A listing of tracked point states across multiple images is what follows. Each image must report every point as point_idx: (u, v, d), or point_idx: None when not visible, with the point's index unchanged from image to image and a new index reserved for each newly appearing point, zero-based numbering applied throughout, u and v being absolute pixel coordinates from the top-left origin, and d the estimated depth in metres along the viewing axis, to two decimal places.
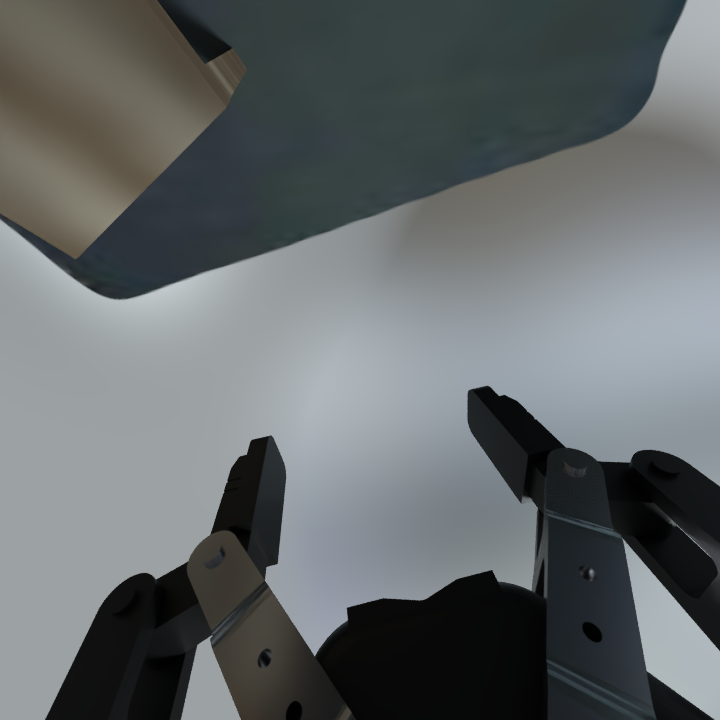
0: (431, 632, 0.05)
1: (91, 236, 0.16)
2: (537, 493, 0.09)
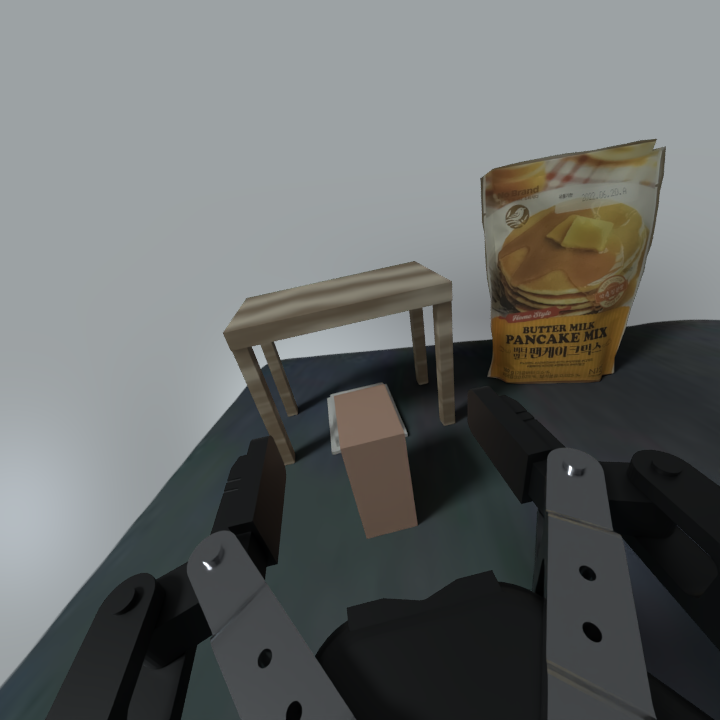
0: (431, 632, 0.05)
1: (245, 302, 0.37)
2: (537, 493, 0.09)
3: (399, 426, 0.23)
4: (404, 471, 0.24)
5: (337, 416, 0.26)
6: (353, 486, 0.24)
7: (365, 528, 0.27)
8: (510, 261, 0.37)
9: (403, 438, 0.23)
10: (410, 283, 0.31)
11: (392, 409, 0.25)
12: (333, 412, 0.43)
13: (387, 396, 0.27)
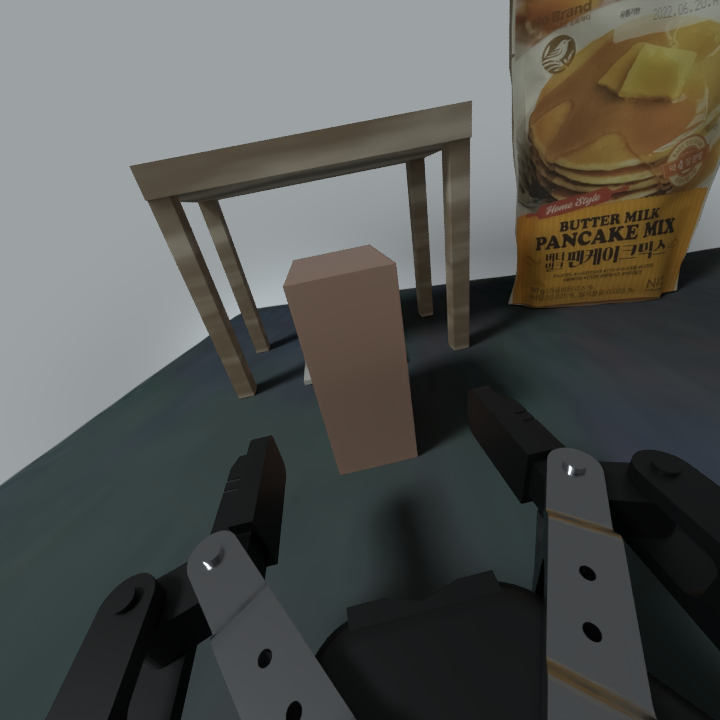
0: (431, 632, 0.05)
1: None
2: (537, 493, 0.09)
3: (388, 260, 0.14)
4: (396, 348, 0.15)
5: (291, 269, 0.16)
6: (312, 372, 0.15)
7: (336, 456, 0.18)
8: (547, 124, 0.27)
9: (394, 275, 0.13)
10: None
11: (378, 254, 0.15)
12: None
13: (372, 249, 0.17)
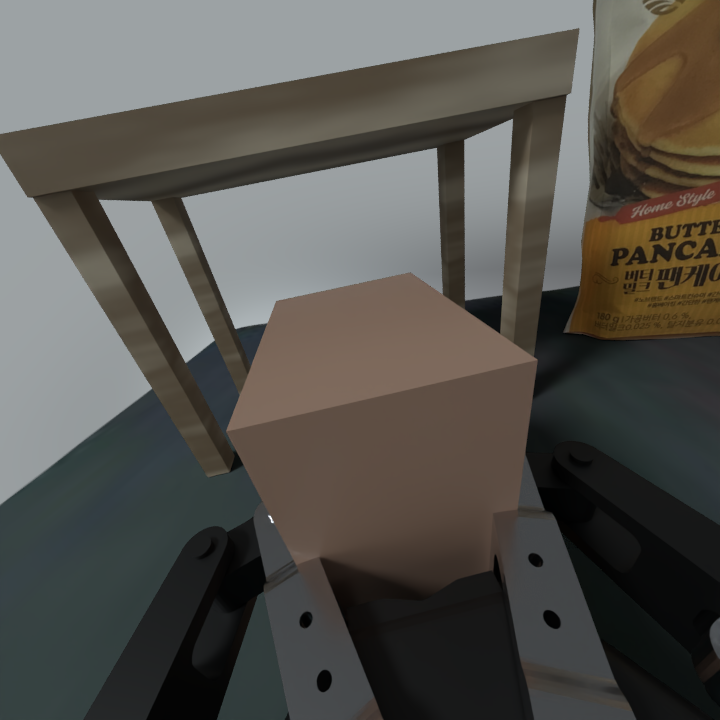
0: (431, 632, 0.05)
1: None
2: None
3: (499, 341, 0.05)
4: None
5: (267, 334, 0.08)
6: None
7: None
8: (643, 90, 0.19)
9: (526, 387, 0.05)
10: None
11: (449, 306, 0.07)
12: None
13: (424, 287, 0.09)
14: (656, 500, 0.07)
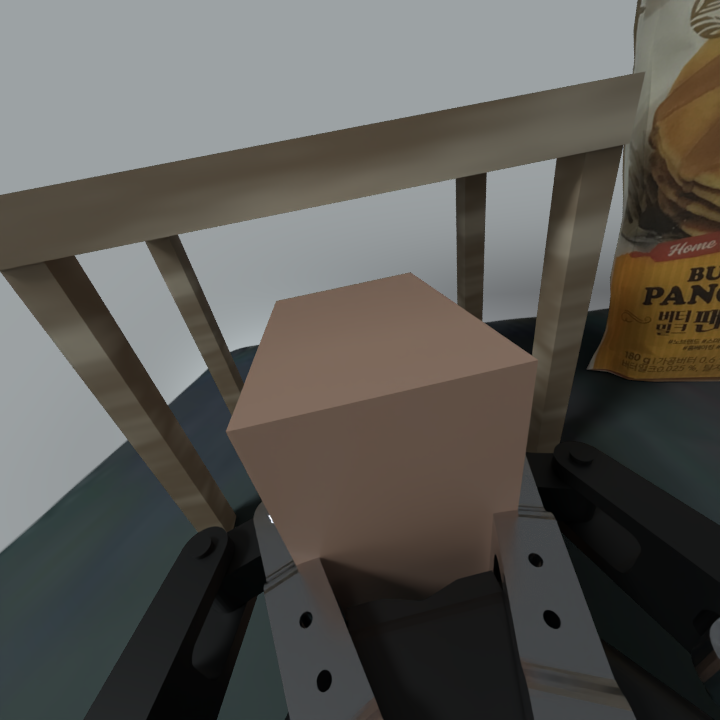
0: (431, 632, 0.05)
1: None
2: None
3: (499, 341, 0.05)
4: None
5: (267, 334, 0.08)
6: None
7: None
8: (688, 121, 0.17)
9: (527, 388, 0.05)
10: None
11: (449, 306, 0.07)
12: None
13: (424, 287, 0.09)
14: (656, 500, 0.07)
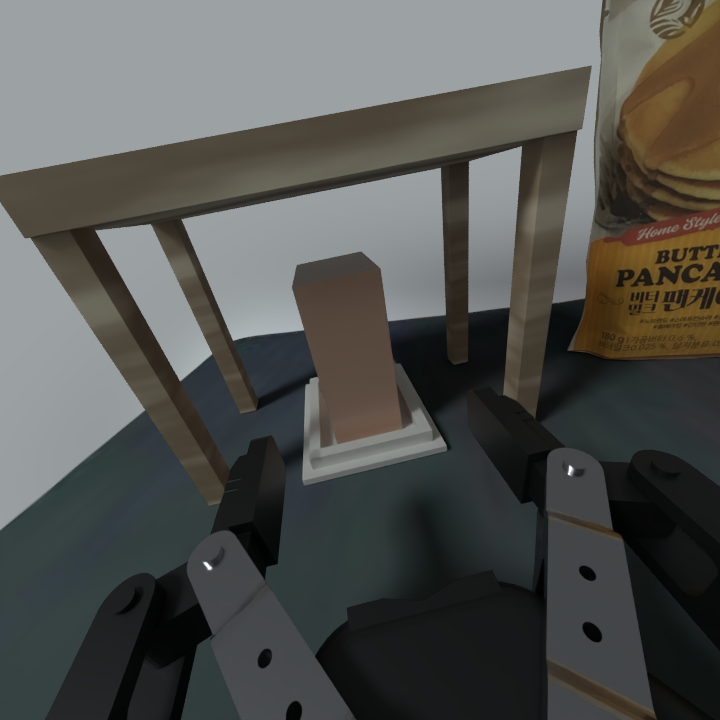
0: (431, 632, 0.05)
1: None
2: (537, 493, 0.09)
3: (374, 266, 0.17)
4: (382, 337, 0.18)
5: (296, 273, 0.20)
6: (314, 356, 0.18)
7: (334, 428, 0.21)
8: (650, 114, 0.19)
9: (379, 278, 0.17)
10: None
11: (367, 260, 0.19)
12: (312, 406, 0.25)
13: (363, 256, 0.21)
14: None
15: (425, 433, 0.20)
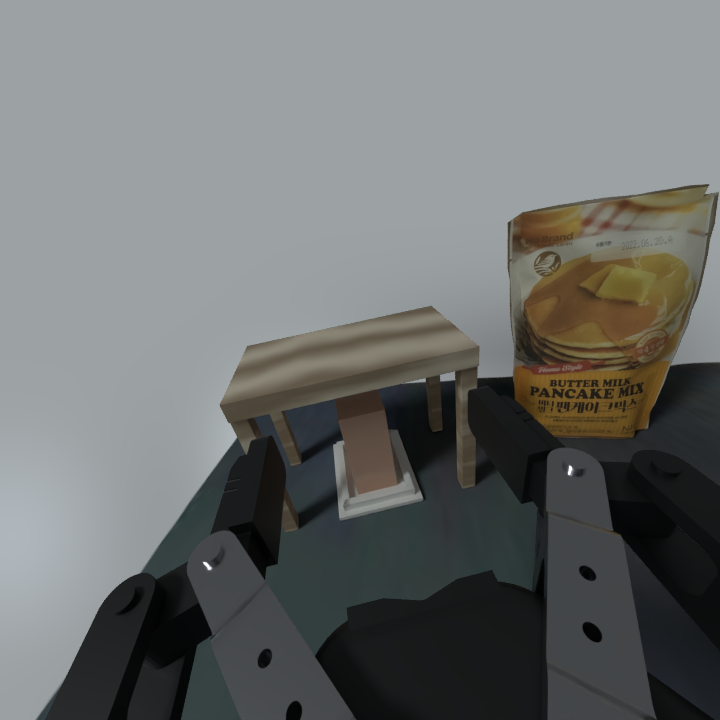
0: (431, 632, 0.05)
1: (245, 352, 0.34)
2: (537, 493, 0.09)
3: (381, 405, 0.32)
4: (385, 439, 0.33)
5: (336, 399, 0.34)
6: (347, 450, 0.33)
7: (357, 485, 0.36)
8: (538, 310, 0.34)
9: (384, 413, 0.31)
10: (431, 344, 0.28)
11: (377, 393, 0.34)
12: (340, 466, 0.39)
13: None
14: None
15: (410, 490, 0.35)
